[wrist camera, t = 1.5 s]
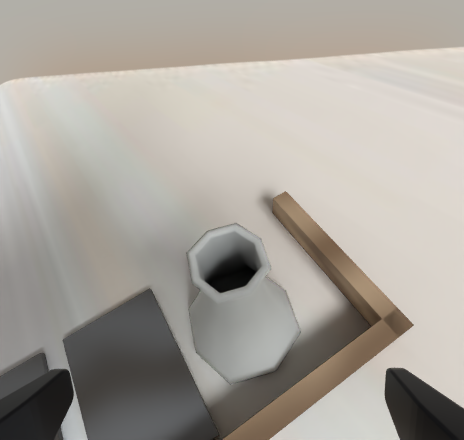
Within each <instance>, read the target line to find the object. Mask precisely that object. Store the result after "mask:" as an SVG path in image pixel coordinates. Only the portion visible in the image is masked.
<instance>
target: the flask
mask: <svg viewBox="0 0 464 440" xmlns="http://www.w3.org/2000/svg"><path fill="white" fill-rule="evenodd" d="M187 258H188V263H189V268H190V274H191V279H192V283H193V285H195V286H196V287H197V288H198V289H200V292H199V294H198V296H197V297H196V299H195V300H194V302H193V303H192V305H191V306H190V308H189V314H190V320H191V326H192V331H193V337H194V343H195V349H196V353H197V354H198V355H199V356H200V357H201V358H202V359H204V360H205V361H206V362H207V363H208V364H209V365H210V366H211V367H212V368H213V369H214V370H215V371H216V372H218V373H219V374H220V375H221V376H222V377H223V378H224V379H225V380H226V381H227V382H228V383H229V384H234V383H237V382H240V381H244V380H247V379H250V378H254V377H257V376H260V375H264V374H267V373H270V372H274V371H276V370H277V368H278V367H279V365H280V364H281V362H282V361H283V359H284V357H285V356H286V354H287V353H288V351H289V350H290V348H291V347H292V345H293V343H294V342H295V340H296V339H297V337H298V336H299V334H300V333H301V331H300V328H299V325H298V322H297V320H296V317H295V314H294V312H293V309H292V306H291V304H290V301H289V298H288V295H287V293H286V290H284V289H283V288H282V287H280V286H279V285H277V284H276V283H274V282H273V281H272V280H270V279H269V278H267V277H266V275H267V274H268V272H269V271H270V270H271V265H270V263H269V260H268V257H267V254H266V252H265V249H264V246H263V243H262V240H261V238H259V237H258V236H256V235H254V234H253V233H251V232H250V231H248V230H247V229H245V228H243V227H242V226H240V225H239V224H237V223H235V224H231V225H227V226H224V227H220V228H216V229H212V230H209V231H207V232H206V233H205V234H204V235H203V236H202V237H201V238H200V239H199V240H198V241H197V242H196V243H195V244H194V246H193V247H192V248H191V249H190V250H189V251H188V252H187Z"/></svg>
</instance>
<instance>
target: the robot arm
mask: <svg viewBox="0 0 464 440" xmlns="http://www.w3.org/2000/svg"><path fill="white" fill-rule="evenodd" d="M73 396H74V391H73V386H72V382H71V377H70V373H69V371H68V370H67V369H53V370H50V371H49V372H47V373H45V374H43V375H42V376H40V377H38V378H36V379H35V380H33V381H31V382H29V383H28V384H26V385H24V386H23V387H21V388H19V389H17V390H16V391H14V392H12V393H10V394H9V395H7V396H5V397H3V398H2V399H0V440H54V439H55V437H56V435H57V432H58V430H59V428H60V426H61V424H62V422H63V420H64V418H65V416H66V414H67V411H68V409H69V407H70V405H71V403H72V400H73ZM385 400H386V404H387V407H388V409H389V412H390V414H391V417H392V420H393V422H394V425H395V428H396V430H397V433H398V436H399V438H400V440H464V408H462V407H461V406H459V405H458V404H456V403H455V402H453V401H452V400H450V399H449V398H447V397H446V396H444V395H443V394H441V393H440V392H438V391H437V390H435V389H434V388H433V387H431V386H430V385H428V384H427V383H425V382H424V381H422V380H421V379H419V378H418V377H416V376H415V375H413V374H412V373H410V372H409V371H407V370H406V369H404V368H388V369H387V371H386V380H385Z"/></svg>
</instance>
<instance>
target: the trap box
mask: <svg viewBox="0 0 464 440" xmlns="http://www.w3.org/2000/svg"><path fill="white" fill-rule="evenodd" d="M273 214H274V215H275V216H276V217H277V218H278V220H279V221H280V222H281V223H282V224H283V225H284V226H285V228H286V229H287V230H288V231H289V232H290V233H291V234H292V236H293V237H294V238H295V239H296V240H297V241H298V242H299V244H300V245H301V246H302V247H303V248H304V249H305V251H306V252H307V253H308V254H309V255H310V256H311V257H312V259H313V260H314V261H315V262H316V263H317V264H318V265H319V267H320V268H321V269H322V270H323V271H324V272H325V273H326V275H327V276H328V277H329V278H330V279H331V280H332V282H333V283H334V284H335V285H336V286H337V287H338V288H339V290H340V291H341V292H342V293H343V294H344V295H345V296H346V298H347V299H348V300H349V301H350V302H351V303H352V305H353V306H354V307H355V308H356V309H357V310H358V311H359V313H360V314H361V315H362V316H363V317H364V318H365V319H366V321H367V322H368V323H369V324H370V325H371V326H372V327H370V328H369V329H368V330H366V331H365V332H364V333H362V334H361V335H360V336H358V337H357V338H356V339H355V340H353V341H352V342H351V343H349V344H348V345H347V346H345V347H344V348H343V349H341V350H340V351H339V352H337V353H336V354H335V355H333V356H332V357H331V358H329V359H328V360H327V361H325V362H324V363H323V364H321V365H320V366H319V367H317V368H316V369H315V370H314V371H312V372H311V373H310V374H308V375H307V376H306V377H304V378H303V379H302V380H300V381H299V382H298V383H296V384H295V385H294V386H292V387H291V388H290V389H288V390H287V391H286V392H284V393H283V394H282V395H280V396H279V397H278V398H277V399H275V400H274V401H273V402H271V403H270V404H269V405H267V406H266V407H265V408H263V409H262V410H261V411H259V412H258V413H257V414H255V415H254V416H253V417H251V418H250V419H249V420H247V421H246V422H245V423H243V424H242V425H241V426H239V427H238V428H237V429H236V430H234V431H233V432H232V433H230V434H229V435H228V436H226V437H225V438H224V439H222V440H269V439H270V438H272V437H273V436H274V435H275V434H277V433H278V432H279V431H280V430H282V429H283V428H284V427H285V426H287V425H288V424H289V423H291V422H292V421H293V420H294V419H296V418H297V417H298V416H299V415H301V414H302V413H303V412H305V411H306V410H307V409H308V408H310V407H311V406H312V405H313V404H315V403H316V402H317V401H318V400H320V399H321V398H322V397H324V396H325V395H326V394H327V393H329V392H330V391H331V390H332V389H334V388H335V387H336V386H337V385H339V384H340V383H341V382H343V381H344V380H345V379H346V378H348V377H349V376H350V375H351V374H353V373H354V372H355V371H357V370H358V369H359V368H360V367H362V366H363V365H364V364H365V363H367V362H368V361H369V360H370V359H372V358H373V357H374V356H376V355H377V354H378V353H379V352H381V351H382V350H383V349H384V348H386V347H387V346H388V345H389V344H391V343H392V342H393V341H395V340H396V339H397V338H398V337H400V336H401V335H402V334H403V333H405V332H406V331H407V330H409V329H410V328H411V327H412V326H414V325H413V324H412V323H411V322H410V320H409V319H408V318H407V317H406V316H405V315H404V314H403V313H402V312H401V311H400V310H399V309H398V308H397V307H396V306H395V305H394V304H393V303H392V302H391V301H390V300H389V299H388V297H387V296H386V295H385V294H384V293H383V292H382V291H381V290H380V289H379V288H378V287H377V286H376V285H375V284H374V283H373V282H372V281H371V280H370V279H369V278H368V277H367V276H366V274H365V273H364V272H363V271H362V270H361V269H360V268H359V267H358V266H357V265H356V264H355V263H354V262H353V261H352V260H351V259H350V258H349V257H348V256H347V255H346V254H345V253H344V251H343V250H342V249H341V248H340V247H339V246H338V245H337V244H336V243H335V242H334V241H333V240H332V239H331V238H330V237H329V236H328V235H327V234H326V233H325V232H324V231H323V230H322V228H321V227H320V226H319V225H318V224H317V223H316V222H315V221H314V220H313V219H312V218H311V217H310V216H309V215H308V214H307V213H306V212H305V211H304V210H303V209H302V208H301V207H300V205H299V204H298V203H297V202H296V201H295V200H294V199H293V198H292V197H291V196H290V195H289V194H288V193H287V192H286V191H285V192H284V193H282V194H280V195H278V196H277V197H275V198H273ZM63 343H64V347H65V351H66V355H67V359H68V363H69V367H70V371H71V375H72V379H73V383H74V386H75V390H76V394H77V398H78V402H79V406H80V410H81V414H82V418H83V422H84V426H85V430H86V434H87V438H88V440H212V439H213V438H215V437H216V436H217V435H219V433H218V431H217V429H216V427H215V425H214V422H213V420H212V418H211V416H210V414H209V412H208V410H207V407H206V405H205V403H204V401H203V399H202V397H201V395H200V393H199V390H198V388H197V386H196V384H195V382H194V380H193V378H192V376H191V373H190V371H189V369H188V367H187V365H186V363H185V361H184V358H183V356H182V354H181V352H180V350H179V348H178V346H177V344H176V341H175V339H174V337H173V335H172V333H171V331H170V329H169V327H168V324H167V322H166V320H165V318H164V316H163V314H162V312H161V309H160V307H159V305H158V303H157V301H156V299H155V297H154V295H153V292H152V290H151V289H148V290H147V291H145V292H143V293H142V294H140V295H138V296H136V297H135V298H133V299H131V300H130V301H128V302H126V303H125V304H123V305H121V306H119V307H118V308H116V309H114V310H113V311H111V312H109V313H107V314H106V315H104V316H102V317H101V318H99V319H97V320H96V321H94V322H92V323H90V324H89V325H87V326H85V327H84V328H82V329H80V330H79V331H77V332H75V333H73V334H72V335H70V336H68V337H67V338H65V339H63ZM47 372H48V367H47V363H46V358H45V354H44V353H39V354H38V355H36V356H34V357H33V358H31V359H29V360H28V361H26V362H24V363H22V364H21V365H19V366H17V367H16V368H14V369H12V370H10V371H9V372H7V373H5V374H4V375H2V376H0V399H2V398H3V397H5V396H7V395H9V394H10V393H12V392H14V391H16V390H17V389H19V388H21V387H23V386H24V385H26V384H28V383H29V382H31V381H33V380H35V379H36V378H38V377H40V376H42V375H43V374H45V373H47ZM54 440H63V438H62V433H61V428H59V430H58V432H57V435H56V437H55V439H54Z"/></svg>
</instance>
